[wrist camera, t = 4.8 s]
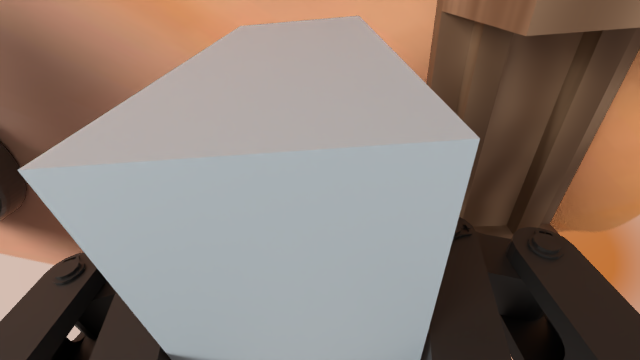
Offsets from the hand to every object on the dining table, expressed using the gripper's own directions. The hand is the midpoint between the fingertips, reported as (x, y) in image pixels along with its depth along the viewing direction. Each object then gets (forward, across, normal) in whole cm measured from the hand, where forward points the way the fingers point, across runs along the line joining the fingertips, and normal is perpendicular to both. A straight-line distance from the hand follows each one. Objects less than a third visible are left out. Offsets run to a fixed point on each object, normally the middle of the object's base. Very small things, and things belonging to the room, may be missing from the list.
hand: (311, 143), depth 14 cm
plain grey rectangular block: (0, 0, 0) cm, 0 cm away
